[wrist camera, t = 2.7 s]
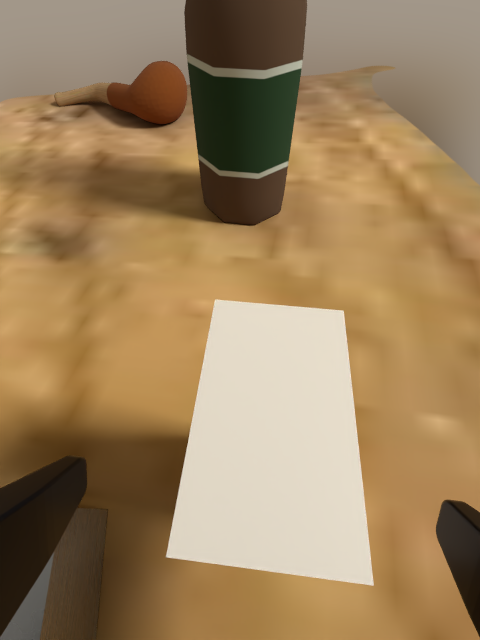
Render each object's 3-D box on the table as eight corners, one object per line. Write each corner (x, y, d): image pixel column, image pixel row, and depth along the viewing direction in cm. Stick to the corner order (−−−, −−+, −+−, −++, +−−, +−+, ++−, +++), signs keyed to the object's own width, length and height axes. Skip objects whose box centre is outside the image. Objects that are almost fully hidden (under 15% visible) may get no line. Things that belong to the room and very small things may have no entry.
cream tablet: (272, 533, 14) (373, 585, 3) (220, 526, 14) (165, 556, 4) (275, 443, 16) (343, 310, 6) (230, 438, 16) (215, 299, 6)
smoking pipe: (180, 136, 36) (171, 76, 31) (39, 123, 37) (10, 65, 33) (195, 110, 40) (189, 54, 35) (67, 99, 41) (44, 44, 36)
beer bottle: (260, 239, 25) (346, -836, 5) (187, 210, 27) (44, -626, 7) (298, 192, 29) (433, -536, 9) (230, 170, 31) (216, -456, 11)
